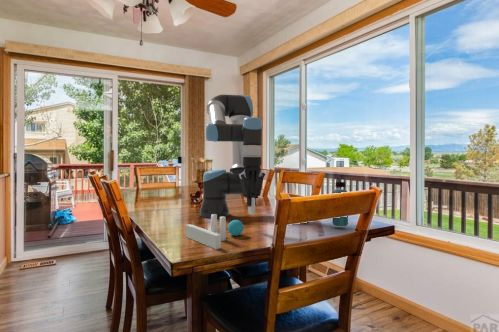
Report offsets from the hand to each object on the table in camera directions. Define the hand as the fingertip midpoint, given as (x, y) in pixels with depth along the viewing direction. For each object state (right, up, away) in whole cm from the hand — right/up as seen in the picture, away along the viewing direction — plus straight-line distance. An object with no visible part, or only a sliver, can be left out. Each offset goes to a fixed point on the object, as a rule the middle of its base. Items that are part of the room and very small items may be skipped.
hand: (251, 213), depth 124 cm
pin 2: (-11, -8, -13) cm, 18 cm away
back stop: (-18, -8, -16) cm, 25 cm away
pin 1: (-14, -7, -9) cm, 18 cm away
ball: (-6, -4, -7) cm, 10 cm away
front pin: (-10, -6, -9) cm, 15 cm away
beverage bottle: (+38, -7, +6) cm, 39 cm away
